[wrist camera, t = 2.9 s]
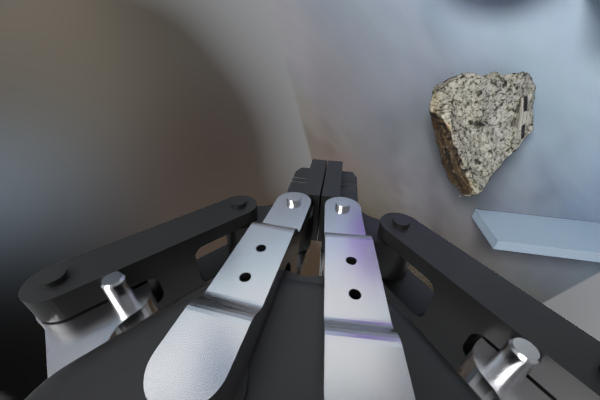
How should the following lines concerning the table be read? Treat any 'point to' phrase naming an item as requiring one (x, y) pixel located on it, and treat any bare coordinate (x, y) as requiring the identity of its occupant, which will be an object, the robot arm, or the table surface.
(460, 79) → the rock sample
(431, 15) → the table surface
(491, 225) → the box
